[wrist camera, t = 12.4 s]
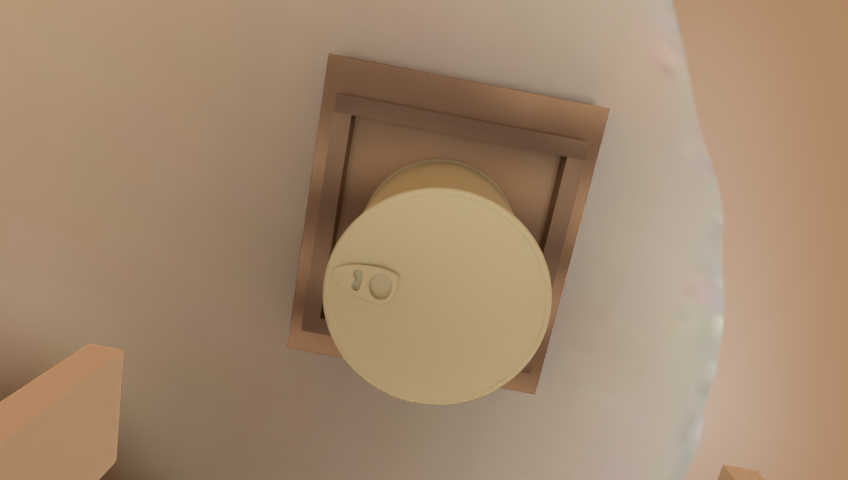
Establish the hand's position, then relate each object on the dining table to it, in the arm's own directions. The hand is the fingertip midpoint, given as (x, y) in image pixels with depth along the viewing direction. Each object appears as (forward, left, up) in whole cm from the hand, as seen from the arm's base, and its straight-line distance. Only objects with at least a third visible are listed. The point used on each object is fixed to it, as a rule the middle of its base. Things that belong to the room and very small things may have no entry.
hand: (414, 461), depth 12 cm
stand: (0, 0, -25) cm, 25 cm away
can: (0, 0, -22) cm, 22 cm away
